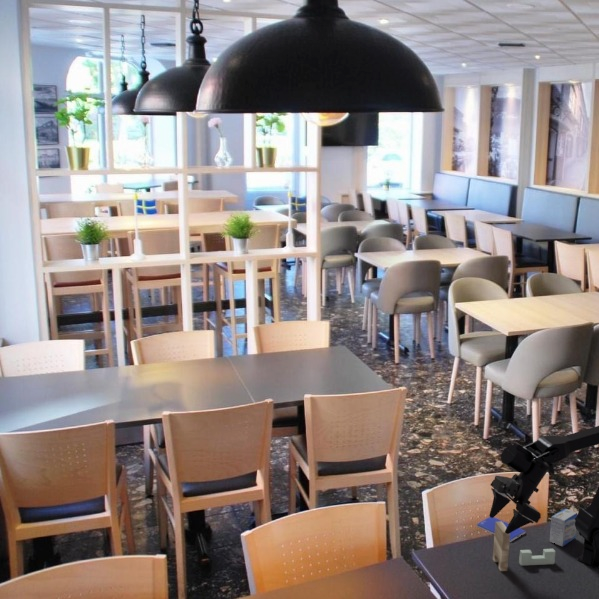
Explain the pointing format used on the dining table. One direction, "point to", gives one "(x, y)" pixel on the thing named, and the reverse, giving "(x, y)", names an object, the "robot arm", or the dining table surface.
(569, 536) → the medicine box
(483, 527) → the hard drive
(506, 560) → the birch plate
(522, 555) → the pale green u-shaped block
